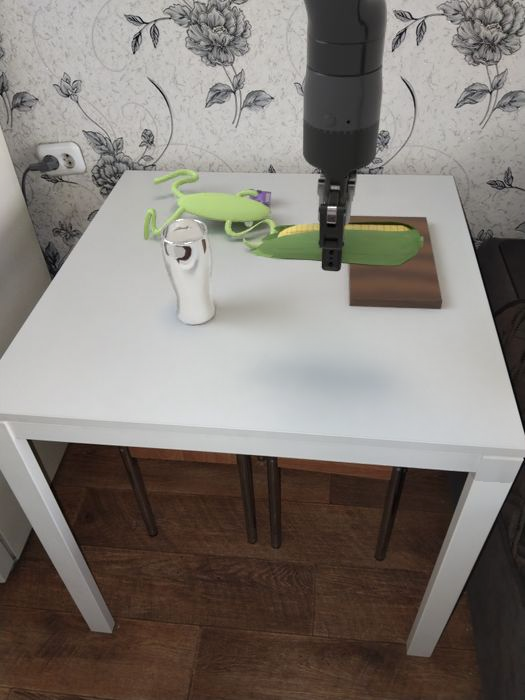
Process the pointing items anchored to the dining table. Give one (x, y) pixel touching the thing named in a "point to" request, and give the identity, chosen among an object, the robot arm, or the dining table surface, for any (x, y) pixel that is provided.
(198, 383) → the dining table surface
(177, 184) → the figurine
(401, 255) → the edible corn
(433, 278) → the serving board
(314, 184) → the dining table surface
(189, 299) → the beer glass
